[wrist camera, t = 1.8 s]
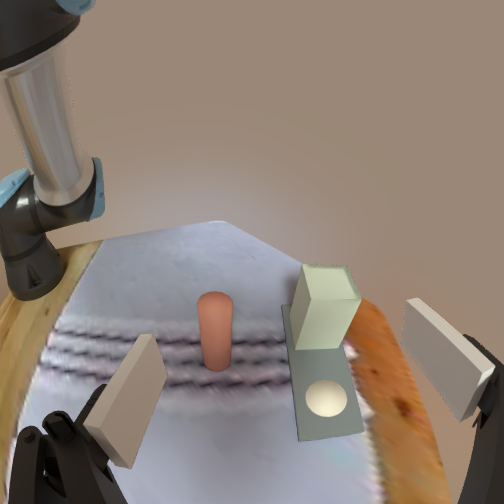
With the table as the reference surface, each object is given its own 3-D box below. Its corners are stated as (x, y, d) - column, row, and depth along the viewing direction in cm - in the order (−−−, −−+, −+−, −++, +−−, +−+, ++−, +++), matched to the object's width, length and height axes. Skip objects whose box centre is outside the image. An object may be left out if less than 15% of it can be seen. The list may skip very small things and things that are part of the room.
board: (281, 307, 47) (284, 290, 45) (329, 307, 48) (336, 290, 45) (298, 441, 28) (306, 433, 25) (362, 432, 28) (375, 421, 26)
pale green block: (289, 315, 45) (301, 263, 38) (328, 315, 45) (347, 265, 39) (294, 350, 39) (311, 299, 33) (337, 348, 40) (361, 298, 33)
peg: (204, 347, 39) (199, 290, 32) (231, 349, 39) (233, 292, 32) (202, 370, 36) (195, 316, 29) (230, 371, 36) (232, 317, 29)
